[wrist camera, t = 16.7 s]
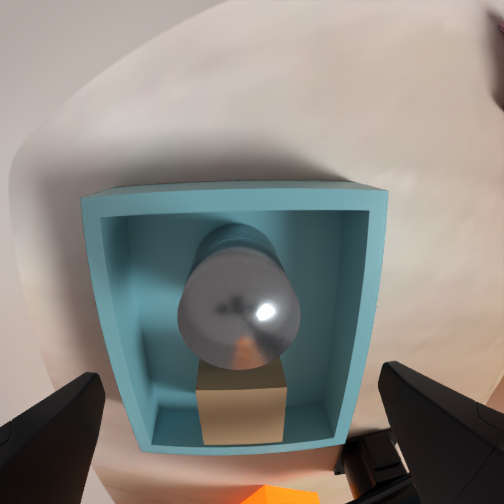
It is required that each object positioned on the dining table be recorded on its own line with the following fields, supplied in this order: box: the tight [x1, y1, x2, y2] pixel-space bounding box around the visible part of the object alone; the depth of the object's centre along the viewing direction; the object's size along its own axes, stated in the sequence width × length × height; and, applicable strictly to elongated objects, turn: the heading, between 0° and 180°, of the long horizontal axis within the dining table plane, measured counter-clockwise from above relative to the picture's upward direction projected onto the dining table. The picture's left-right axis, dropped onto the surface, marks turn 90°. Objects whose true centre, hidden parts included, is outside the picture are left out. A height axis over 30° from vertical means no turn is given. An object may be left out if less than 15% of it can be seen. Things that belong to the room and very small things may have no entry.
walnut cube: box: [195, 356, 287, 445], centre depth 19 cm, size 5×5×5 cm
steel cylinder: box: [177, 224, 301, 370], centre depth 16 cm, size 5×5×7 cm
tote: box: [80, 180, 388, 455], centre depth 19 cm, size 18×15×5 cm
